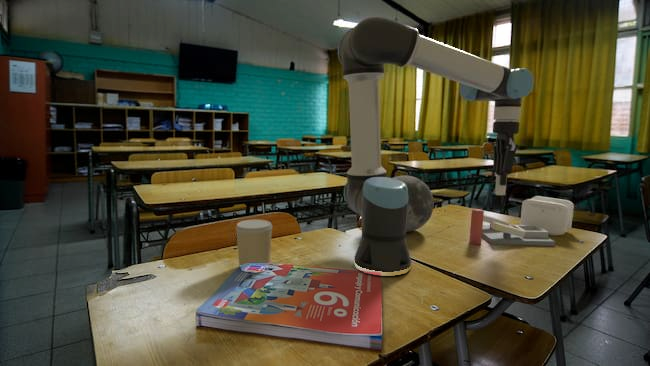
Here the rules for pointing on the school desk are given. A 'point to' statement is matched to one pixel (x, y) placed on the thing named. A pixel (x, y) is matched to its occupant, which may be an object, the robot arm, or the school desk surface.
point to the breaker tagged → (507, 229)
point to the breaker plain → (494, 220)
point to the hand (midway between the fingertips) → (500, 194)
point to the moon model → (417, 202)
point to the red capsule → (476, 226)
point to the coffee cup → (254, 241)
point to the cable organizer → (548, 214)
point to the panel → (531, 236)
